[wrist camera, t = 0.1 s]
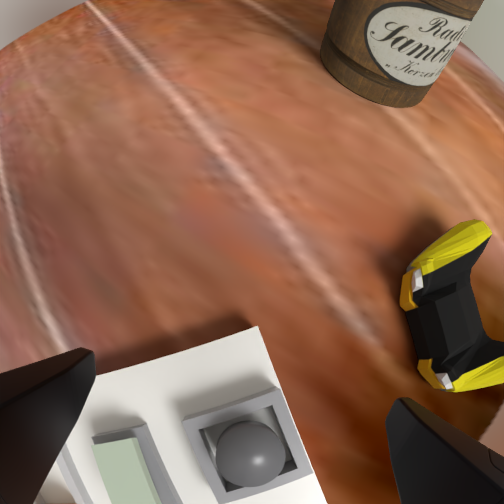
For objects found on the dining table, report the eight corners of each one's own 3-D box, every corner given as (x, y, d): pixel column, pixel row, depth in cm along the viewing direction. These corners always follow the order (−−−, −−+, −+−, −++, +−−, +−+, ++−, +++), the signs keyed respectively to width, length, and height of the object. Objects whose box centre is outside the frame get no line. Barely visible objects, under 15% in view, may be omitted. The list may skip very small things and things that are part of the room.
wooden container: (362, 116, 31) (444, -57, 10) (299, 39, 35) (332, -104, 14) (443, 104, 34) (521, -13, 13) (381, 37, 38) (427, -74, 17)
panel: (320, 495, 19) (335, 515, 15) (71, 543, 15) (54, 561, 11) (254, 328, 23) (260, 322, 20) (6, 397, 19) (-21, 399, 16)
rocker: (168, 519, 14) (164, 523, 13) (127, 524, 14) (122, 528, 13) (136, 437, 17) (131, 438, 16) (97, 445, 16) (91, 445, 15)
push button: (288, 463, 17) (294, 473, 15) (229, 483, 16) (230, 495, 15) (267, 411, 18) (271, 417, 16) (207, 431, 18) (204, 439, 16)
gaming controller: (455, 232, 28) (378, 254, 26) (488, 209, 22) (410, 231, 21) (495, 370, 23) (424, 416, 22) (533, 367, 18) (463, 424, 17)
